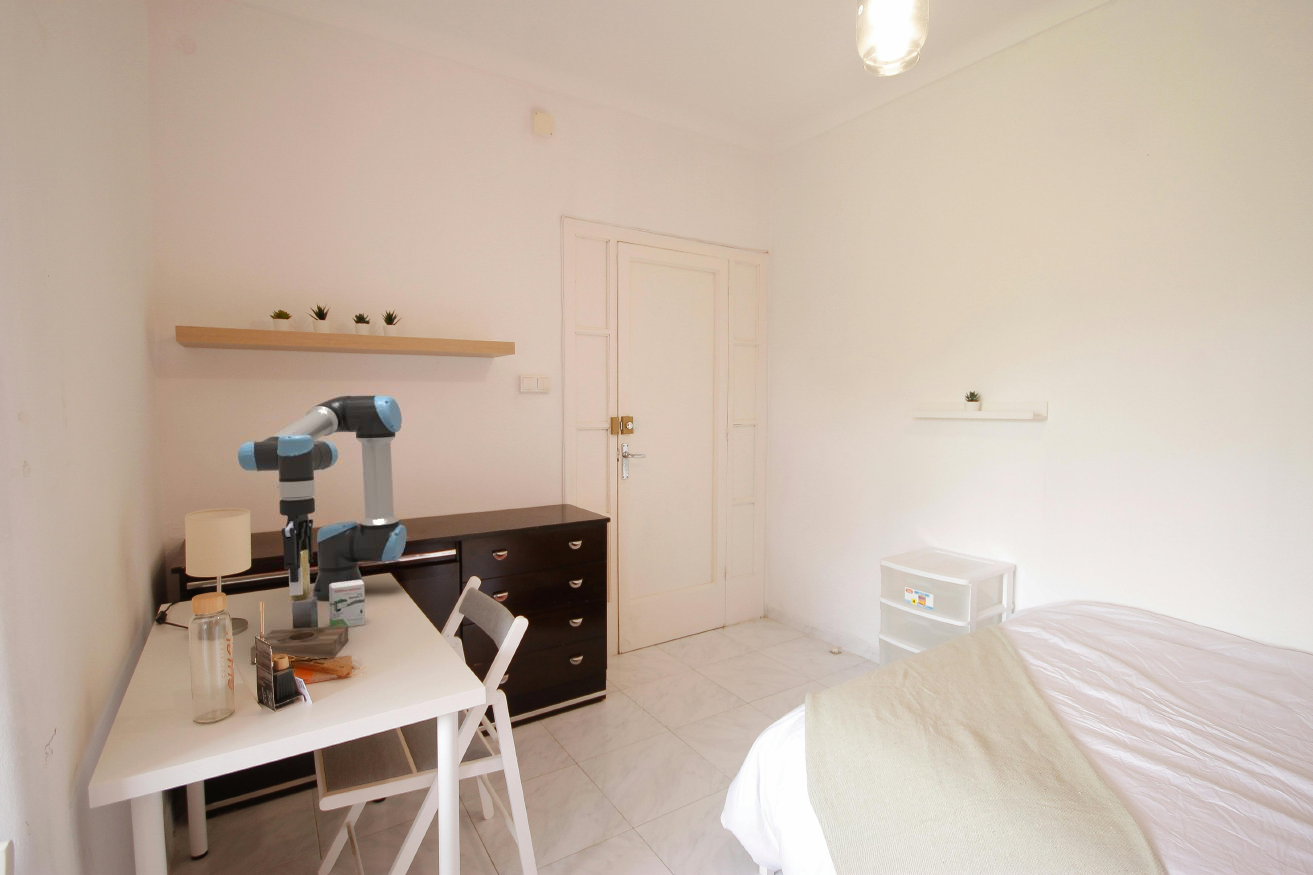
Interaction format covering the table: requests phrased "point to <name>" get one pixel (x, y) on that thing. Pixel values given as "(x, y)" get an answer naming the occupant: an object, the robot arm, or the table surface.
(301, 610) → the square bit
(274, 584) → the table surface
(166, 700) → the table surface
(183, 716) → the table surface
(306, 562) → the cylinder
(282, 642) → the bore block
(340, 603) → the ink box
